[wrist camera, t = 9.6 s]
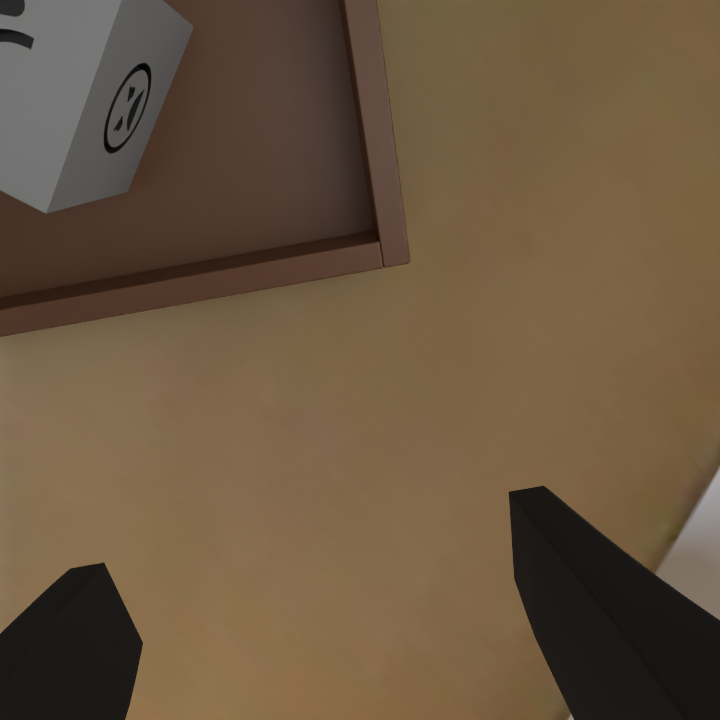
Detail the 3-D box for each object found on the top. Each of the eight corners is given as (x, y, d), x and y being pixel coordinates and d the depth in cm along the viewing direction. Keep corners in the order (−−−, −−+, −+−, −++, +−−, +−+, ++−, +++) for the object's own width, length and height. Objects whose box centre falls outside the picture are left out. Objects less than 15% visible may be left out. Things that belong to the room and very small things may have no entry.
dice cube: (194, 26, 14) (131, -27, 10) (127, 191, 16) (46, 213, 11) (6, -94, 13) (-168, -220, 8) (-46, 98, 15) (-217, 80, 10)
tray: (-81, 333, 18) (-142, 363, 15) (-371, -198, 12) (-533, -276, 10) (399, 247, 17) (410, 263, 15) (321, -332, 12) (319, -441, 10)
